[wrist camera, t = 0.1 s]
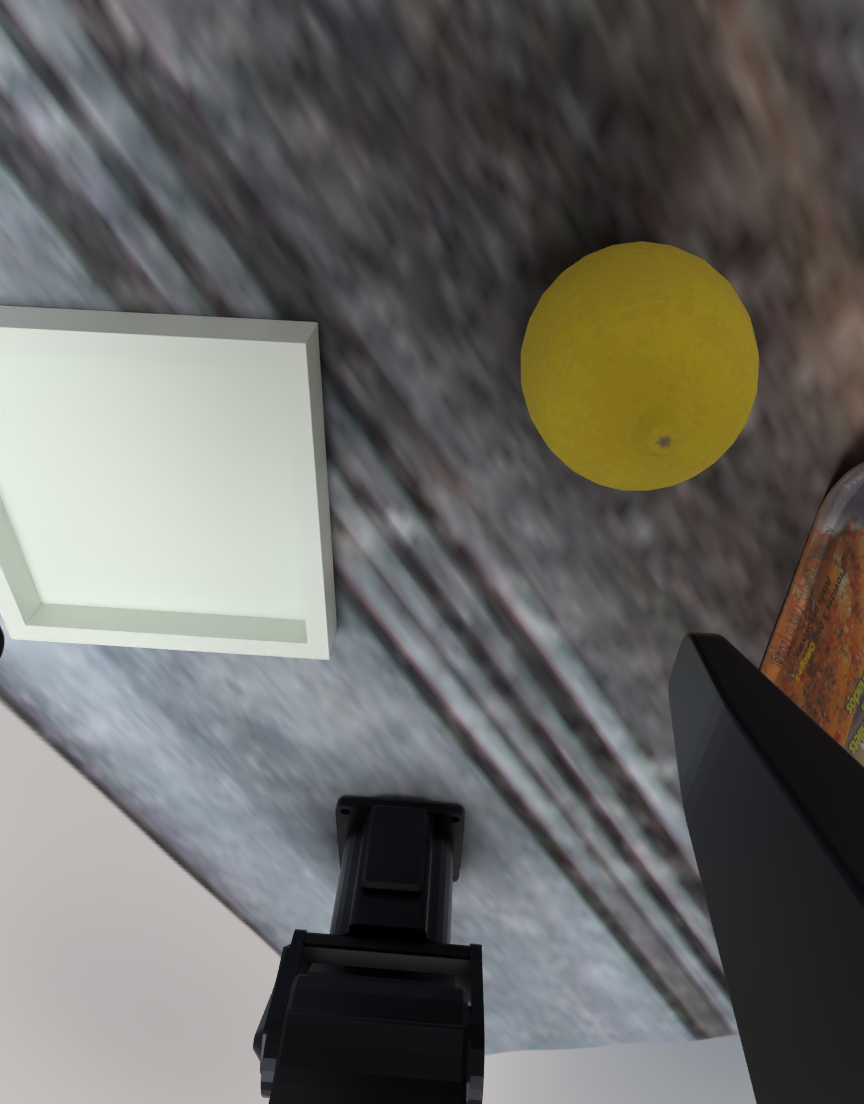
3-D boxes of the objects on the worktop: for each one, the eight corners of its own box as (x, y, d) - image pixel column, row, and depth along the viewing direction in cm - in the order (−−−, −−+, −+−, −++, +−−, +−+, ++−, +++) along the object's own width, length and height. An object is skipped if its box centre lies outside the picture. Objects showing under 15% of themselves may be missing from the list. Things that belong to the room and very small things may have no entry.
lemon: (476, 325, 21) (473, 454, 15) (616, 164, 19) (685, 237, 12) (605, 433, 23) (651, 589, 17) (748, 301, 20) (869, 427, 14)
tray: (337, 628, 29) (329, 659, 28) (34, 608, 29) (11, 639, 28) (317, 322, 22) (305, 343, 20) (-89, 301, 22) (-129, 320, 20)
